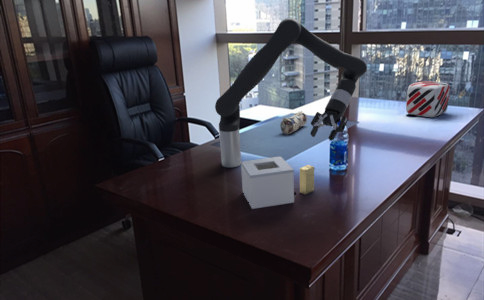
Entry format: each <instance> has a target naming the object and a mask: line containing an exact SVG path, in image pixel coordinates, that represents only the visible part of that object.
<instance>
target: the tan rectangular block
mask: <svg viewBox="0 0 484 300" xmlns="http://www.w3.org/2000/svg"><path fill="white" fill-rule="evenodd" d="M314 191H315V166H313V165H310V164H307V165H304V166H303V167H300V168H299V193H301V194H304V195H308V194H310V193H312V192H314Z"/></svg>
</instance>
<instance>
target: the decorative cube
mask: <svg viewBox="0 0 484 300" xmlns="http://www.w3.org/2000/svg"><path fill="white" fill-rule="evenodd" d="M450 88H451V87H450V85H449V84H448V83H446V82H441V81H429V80H421V81H418V82H413V83H411V84H409V86H408V88H407V92H406V103H405V104H406V105H405V111H406V113H407V114H408V115H411V116H418V117H425V118H436V117H437V116H438V117H439V116H440V115H443V114H445V113H446V112H447V110H448V107H449V97H450Z"/></svg>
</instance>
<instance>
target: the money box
mask: <svg viewBox="0 0 484 300" xmlns="http://www.w3.org/2000/svg"><path fill="white" fill-rule="evenodd" d="M240 166H241V167H240V168H241V184H242V185H241V186H242V194H243V193H244V194H243V196H244V197H245V199H246V200H247V201H246V202H249V203H248V204H249V206H250V208H251V210H255V209H260V208H266V207H274V206H280V205H286V204H292V203H293V204H294V203H295V182H294V181H295V179H294V177H295V174H294V168H292V166H290V164H289V163H287V161H286V160H285V159H284V158H283V157H282V156H273V157H266V158H258V159H251V160H241V165H240Z"/></svg>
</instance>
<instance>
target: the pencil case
mask: <svg viewBox="0 0 484 300" xmlns="http://www.w3.org/2000/svg"><path fill="white" fill-rule="evenodd" d="M307 122H308V115H307V114H306V113H305V112H303V111H301V110H300V111H298V112H296V113H295V114H294V115H292V116H290V117H282V121H280V130H281V133H283V134H285V135H291V134H293V133H294V132H296V131H298V130H299V129H300V128H301V127H303V126H305V125H306V124H307Z"/></svg>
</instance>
